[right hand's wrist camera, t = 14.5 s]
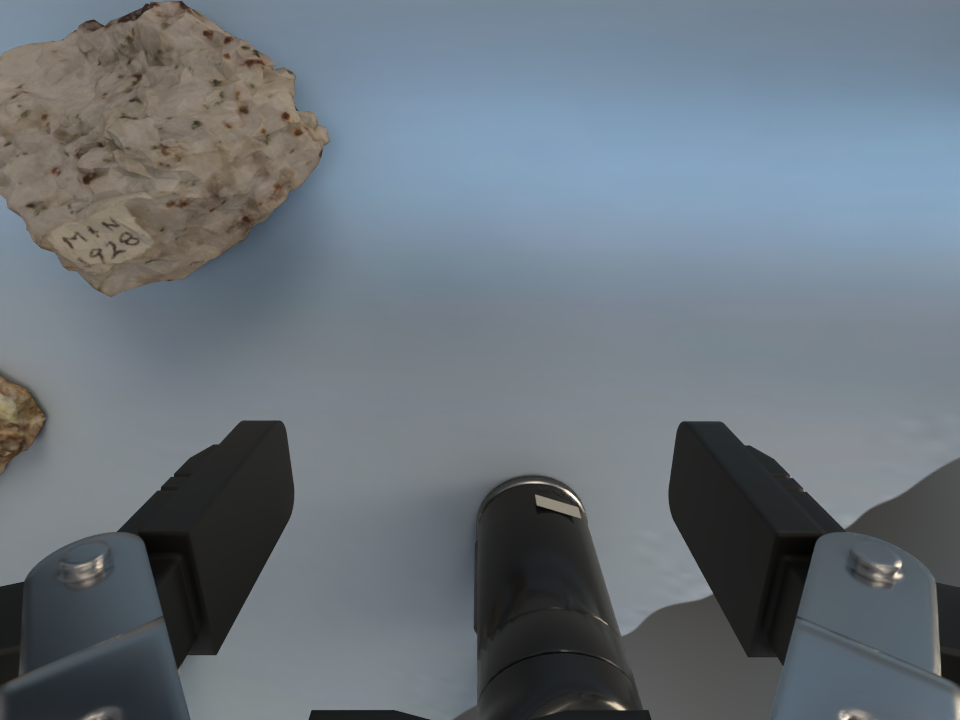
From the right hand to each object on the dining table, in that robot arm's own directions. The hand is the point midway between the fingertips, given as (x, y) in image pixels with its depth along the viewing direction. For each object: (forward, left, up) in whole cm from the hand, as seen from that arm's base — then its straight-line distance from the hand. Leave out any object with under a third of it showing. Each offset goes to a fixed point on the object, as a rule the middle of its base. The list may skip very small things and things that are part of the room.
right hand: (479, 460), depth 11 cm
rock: (-3, +20, -29) cm, 36 cm away
